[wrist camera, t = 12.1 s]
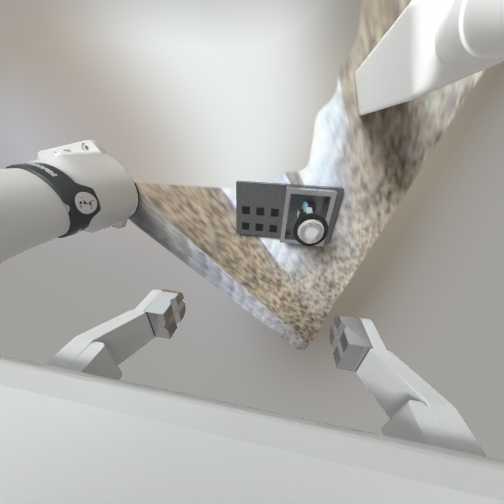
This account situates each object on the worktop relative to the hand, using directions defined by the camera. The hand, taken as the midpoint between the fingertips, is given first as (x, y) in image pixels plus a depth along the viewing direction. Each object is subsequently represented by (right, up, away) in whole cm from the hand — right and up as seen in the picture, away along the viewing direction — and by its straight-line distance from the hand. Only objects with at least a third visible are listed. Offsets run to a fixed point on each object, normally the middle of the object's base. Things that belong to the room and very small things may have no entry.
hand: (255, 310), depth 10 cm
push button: (+10, +10, +27) cm, 31 cm away
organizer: (+7, +12, +28) cm, 31 cm away
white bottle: (+18, +28, +17) cm, 37 cm away
